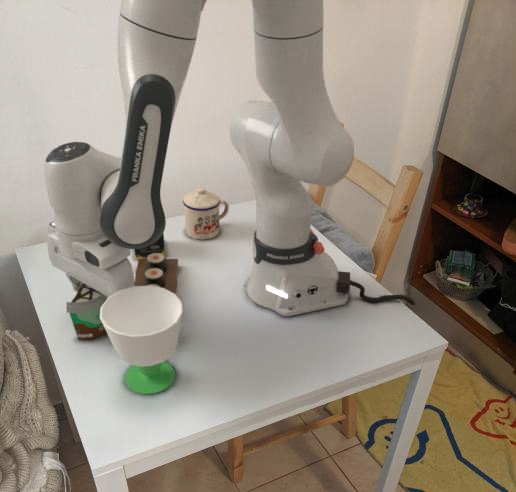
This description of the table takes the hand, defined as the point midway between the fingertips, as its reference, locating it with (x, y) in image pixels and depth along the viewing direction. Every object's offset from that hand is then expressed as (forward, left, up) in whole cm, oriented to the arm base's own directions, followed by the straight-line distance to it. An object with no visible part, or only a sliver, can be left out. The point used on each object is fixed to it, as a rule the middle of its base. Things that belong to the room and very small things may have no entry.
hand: (95, 300), depth 107 cm
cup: (-9, +15, -7) cm, 19 cm away
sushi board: (-11, -12, -7) cm, 18 cm away
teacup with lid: (-25, -37, -7) cm, 45 cm away
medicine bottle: (-10, -29, -7) cm, 31 cm away
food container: (0, -1, -7) cm, 7 cm away
